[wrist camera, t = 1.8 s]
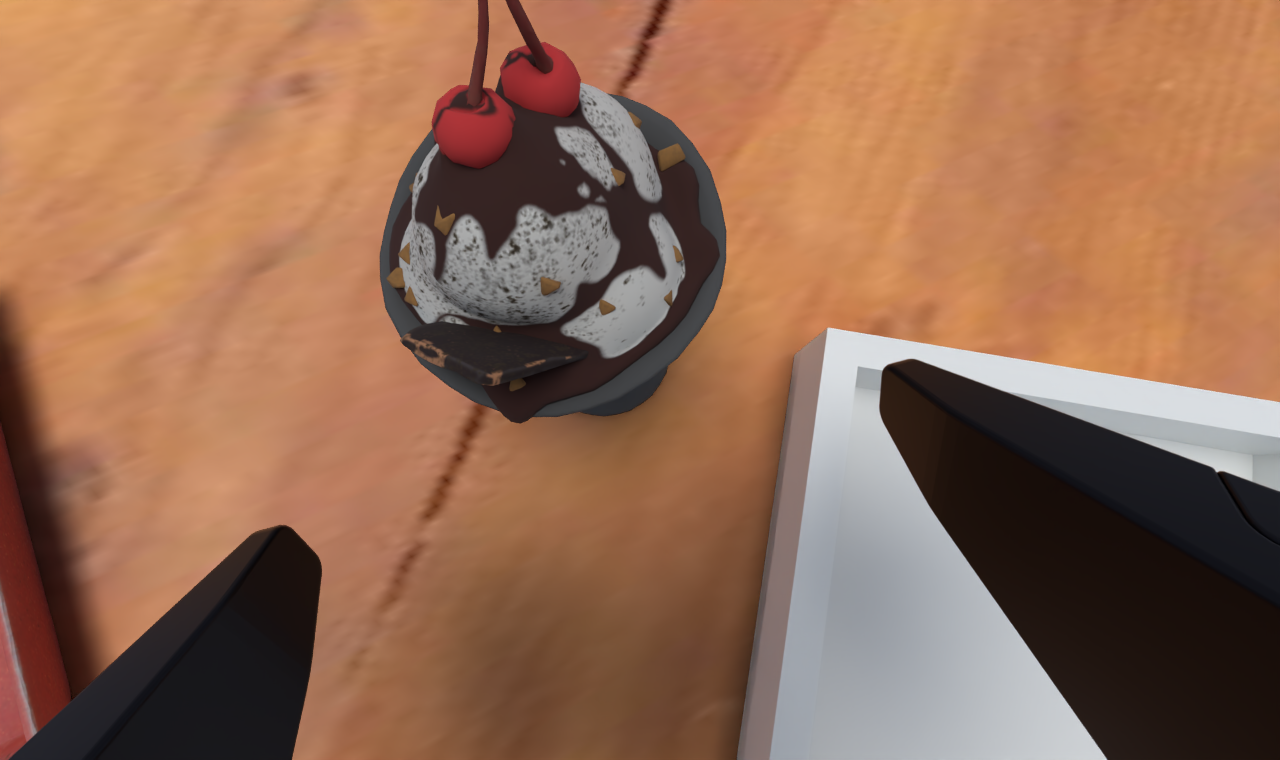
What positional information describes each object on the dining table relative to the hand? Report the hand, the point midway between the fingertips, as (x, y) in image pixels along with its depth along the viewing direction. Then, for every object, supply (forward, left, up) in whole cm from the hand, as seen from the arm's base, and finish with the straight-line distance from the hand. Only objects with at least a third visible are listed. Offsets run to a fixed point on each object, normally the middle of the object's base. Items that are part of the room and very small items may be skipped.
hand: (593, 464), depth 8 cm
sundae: (+4, +2, -12) cm, 13 cm away
